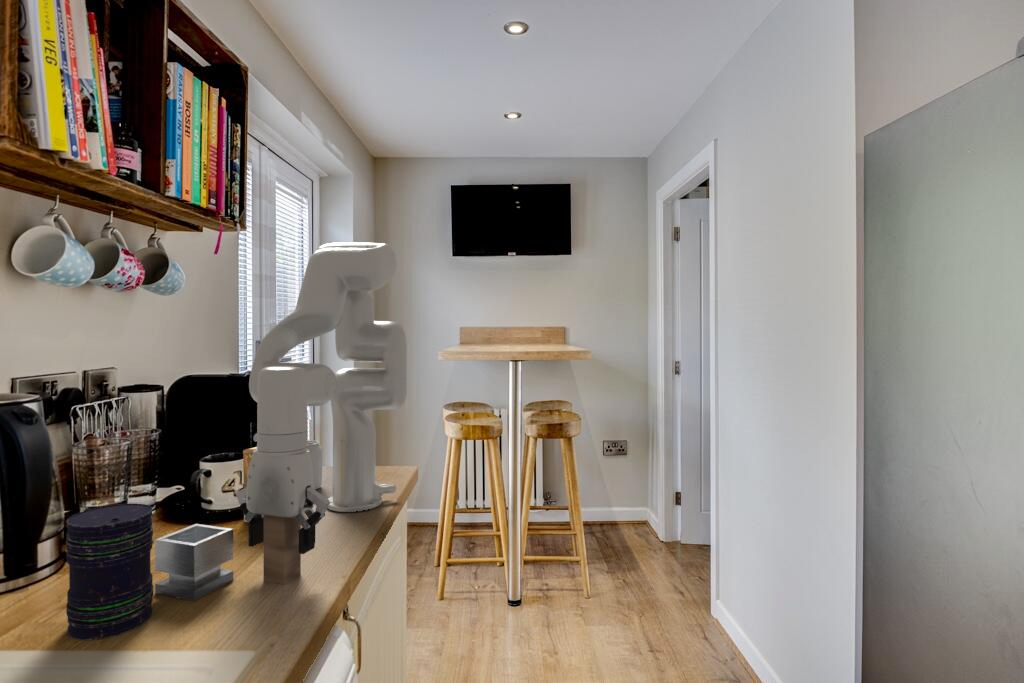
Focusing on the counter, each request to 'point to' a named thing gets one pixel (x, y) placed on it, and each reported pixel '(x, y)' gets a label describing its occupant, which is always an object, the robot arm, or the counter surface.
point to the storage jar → (109, 570)
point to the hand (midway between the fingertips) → (281, 547)
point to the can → (316, 461)
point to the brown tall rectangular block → (281, 549)
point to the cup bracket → (193, 561)
